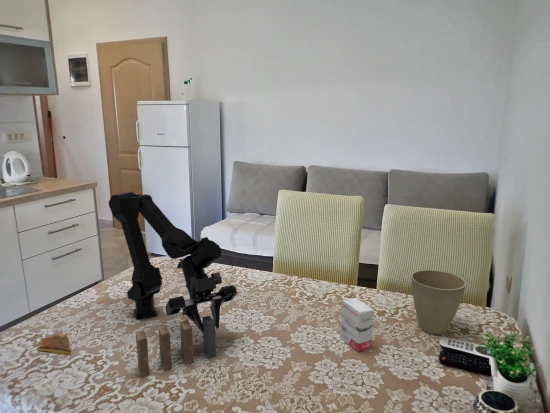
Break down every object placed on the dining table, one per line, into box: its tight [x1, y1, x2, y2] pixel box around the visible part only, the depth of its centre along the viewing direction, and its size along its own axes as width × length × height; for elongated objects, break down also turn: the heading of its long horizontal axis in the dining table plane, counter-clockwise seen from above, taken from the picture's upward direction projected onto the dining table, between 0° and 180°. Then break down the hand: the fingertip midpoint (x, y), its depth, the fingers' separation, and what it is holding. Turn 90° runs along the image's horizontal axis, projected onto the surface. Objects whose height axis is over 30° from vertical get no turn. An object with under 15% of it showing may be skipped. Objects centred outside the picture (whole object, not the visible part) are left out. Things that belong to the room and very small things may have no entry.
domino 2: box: [158, 324, 173, 371], centre depth 102 cm, size 2×4×10 cm, turn 27°
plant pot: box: [410, 269, 467, 335], centre depth 120 cm, size 15×15×16 cm
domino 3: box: [179, 320, 194, 365], centre depth 104 cm, size 2×4×10 cm, turn 27°
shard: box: [36, 333, 72, 355], centre depth 109 cm, size 11×8×2 cm
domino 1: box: [135, 329, 150, 378], centre depth 99 cm, size 2×4×10 cm, turn 27°
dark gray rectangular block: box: [201, 315, 217, 359], centre depth 107 cm, size 2×4×10 cm, turn 31°
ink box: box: [340, 297, 374, 353], centre depth 112 cm, size 8×5×12 cm, turn 26°
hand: (210, 330), depth 105 cm, fingers open, 4 cm apart
